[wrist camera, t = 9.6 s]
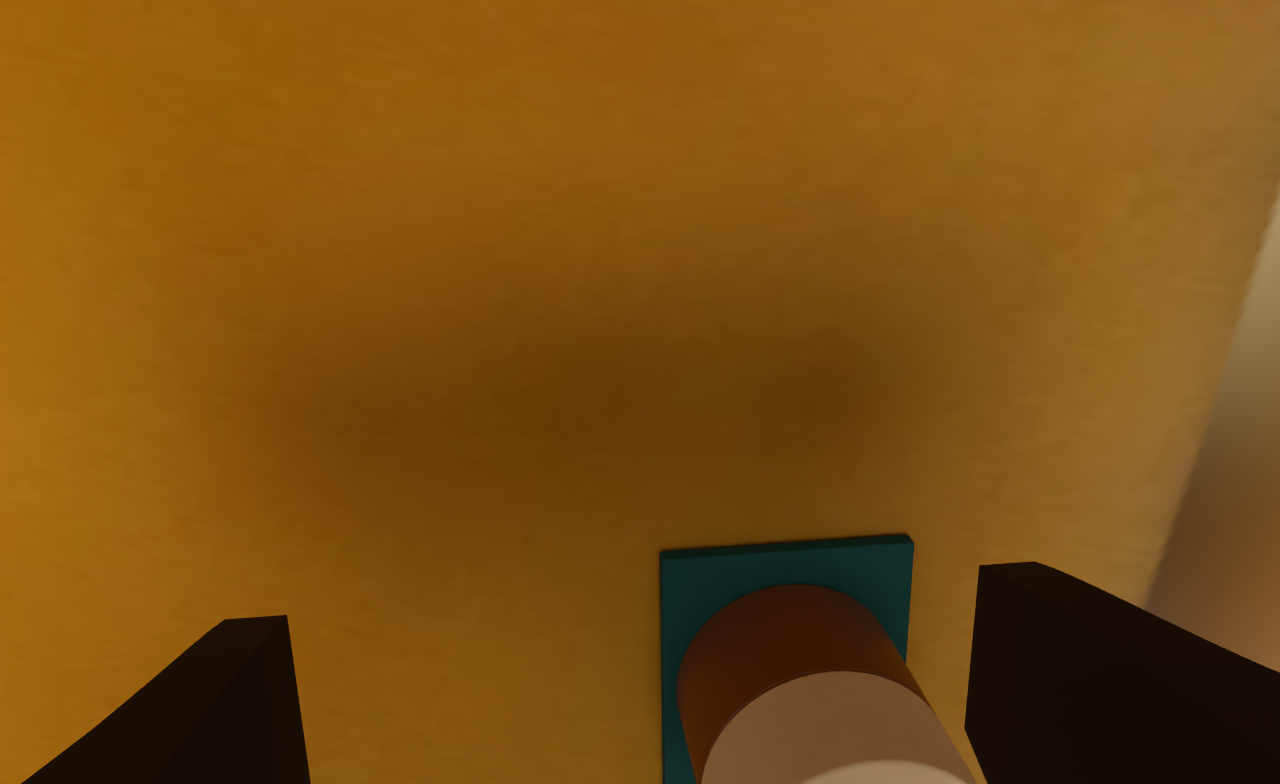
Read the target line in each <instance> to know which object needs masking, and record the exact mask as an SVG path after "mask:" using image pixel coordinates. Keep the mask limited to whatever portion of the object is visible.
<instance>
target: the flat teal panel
mask: <svg viewBox="0 0 1280 784" xmlns="http://www.w3.org/2000/svg"><path fill="white" fill-rule="evenodd" d="M913 553H914V542H913V541H912V540H911V538H910V537H909V536H908V535H895V536H880V537H866V538H851V539H837V540H822V541H807V542H793V543H778V544H763V545H749V546H734V547H720V548H705V549H690V550H676V551H662V552H660V610H661V680H662V751H663V784H696V780H695V776H694V772H693V768H692V764H691V760H690V755H689V751H688V747H687V743H686V739H685V735H684V730H683V726H682V722H681V718H680V714H679V710H678V705H677V695H676V689H677V678H678V673H679V668H680V665H681V662H682V660H683V657H684V654H685V652H686V651H687V649H688V647H689V645H690V643H691V641H692V640H693V638H694V637H695V636H696V634H697V633H698V631H699V630H700V629H701V628H702V627H703V626H704V625H705V624H706V622H707V621H708V620H709V619H710V618H712V617H713V616H714V615H715V614H716V613H717V612H719V611H720V610H721V609H723V608H724V607H726V606H727V605H729V604H730V603H732V602H733V601H735V600H737V599H739V598H741V597H743V596H745V595H747V594H750V593H753V592H755V591H758V590H761V589H765V588H769V587H773V586H780V585H787V584H808V585H817V586H822V587H826V588H830V589H833V590H836V591H838V592H841V593H844V594H846V595H848V596H850V597H851V598H853V599H855V600H857V601H858V602H860V603H861V604H862V605H864V606H865V607H866V608H867V609H868V610H869V611H870V612H871V613H872V614H873V615H874V616H875V617H876V618H877V619H878V621H879V622H880V623H881V625H882V626H883V627H884V629H885V631H886V632H887V634H888V636H889V637H890V639H891V641H892V642H893V644H894V646H895V647H896V649H897V651H898V652H899V654H900V656H901V657H902V659H903V661H904V662H905V664H906V653H907V639H908V624H909V610H910V596H911V582H912V567H913Z"/></svg>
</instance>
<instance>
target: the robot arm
mask: <svg viewBox="0 0 1280 784" xmlns="http://www.w3.org/2000/svg"><path fill="white" fill-rule="evenodd" d="M964 729H965V731H966V733H967V736H968V738H969V741H970V743H971V745H972V748H973V750H974V753H975V755H976V758H977V760H978V762H979V765H980V767H981V770H982V772H983V774H984V777H985V779H986V781H987V783H988V784H1280V673H1279V672H1277V671H1274V670H1272V669H1269V668H1267V667H1265V666H1262V665H1260V664H1258V663H1256V662H1253V661H1251V660H1249V659H1247V658H1245V657H1242V656H1240V655H1238V654H1236V653H1234V652H1231V651H1229V650H1227V649H1225V648H1222V647H1220V646H1218V645H1216V644H1214V643H1212V642H1209V641H1207V640H1205V639H1203V638H1201V637H1199V636H1197V635H1195V634H1193V633H1190V632H1188V631H1186V630H1184V629H1182V628H1180V627H1178V626H1176V625H1174V624H1172V623H1170V622H1168V621H1165V620H1163V619H1161V618H1159V617H1157V616H1155V615H1153V614H1151V613H1149V612H1147V611H1145V610H1143V609H1141V608H1139V607H1137V606H1135V605H1132V604H1130V603H1128V602H1126V601H1124V600H1122V599H1120V598H1118V597H1116V596H1114V595H1112V594H1110V593H1108V592H1106V591H1103V590H1101V589H1099V588H1097V587H1095V586H1093V585H1091V584H1089V583H1086V582H1084V581H1082V580H1080V579H1078V578H1076V577H1073V576H1071V575H1069V574H1066V573H1064V572H1062V571H1059V570H1057V569H1054V568H1052V567H1049V566H1046V565H1043V564H1041V563H1038V562H1020V563H1006V564H992V565H979V575H978V586H977V597H976V608H975V619H974V630H973V640H972V651H971V662H970V673H969V684H968V695H967V705H966V716H965V727H964ZM21 784H311V782H310V775H309V768H308V761H307V754H306V747H305V740H304V733H303V726H302V719H301V711H300V704H299V697H298V690H297V683H296V676H295V669H294V662H293V655H292V648H291V641H290V633H289V626H288V619H287V615H280V616H266V617H253V618H239V619H225V620H223V621H222V622H221V623H219V624H218V625H216V626H215V627H214V628H212V629H211V630H210V631H209V632H207V633H206V634H205V635H204V636H203V637H201V638H200V639H199V640H198V641H196V642H195V643H194V644H193V645H192V646H191V647H189V648H188V649H187V650H186V651H185V652H184V653H182V654H181V655H180V656H179V657H178V658H177V659H175V660H174V661H173V662H172V663H171V664H170V665H168V666H167V667H166V668H165V669H164V670H163V671H161V672H160V673H159V674H158V675H157V676H156V677H154V678H153V679H152V680H151V681H150V682H149V683H147V684H146V685H145V686H144V687H143V688H141V689H140V690H139V691H138V692H137V693H135V694H134V695H133V696H132V697H131V698H129V699H128V700H127V701H126V702H125V703H123V704H122V705H121V706H120V707H119V708H117V709H116V710H115V711H114V712H113V713H111V714H110V715H109V716H108V717H107V718H105V719H104V720H103V721H102V722H101V723H100V724H98V725H97V726H96V727H95V728H93V729H92V730H91V731H90V732H88V733H87V734H86V735H84V736H83V737H82V738H80V739H79V740H78V741H76V742H75V743H74V744H73V745H71V746H70V747H69V748H67V749H66V750H65V751H63V752H62V753H61V754H59V755H58V756H57V757H55V758H54V759H53V760H52V761H50V762H49V763H48V764H46V765H45V766H44V767H42V768H41V769H40V770H38V771H37V772H36V773H35V774H33V775H32V776H31V777H29V778H28V779H27V780H25V781H24V782H23V783H21Z"/></svg>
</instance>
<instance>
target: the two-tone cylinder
mask: <svg viewBox="0 0 1280 784" xmlns="http://www.w3.org/2000/svg"><path fill="white" fill-rule="evenodd" d="M676 695H677V705H678V710H679V714H680V718H681V722H682V726H683V730H684V735H685V739H686V743H687V747H688V751H689V755H690V760H691V764H692V768H693V772H694V776H695V780H696V784H977V782H976V780H975V779H974V777H973V775H972V774H971V772H970V770H969V769H968V767H967V765H966V764H965V762H964V760H963V759H962V757H961V755H960V754H959V752H958V750H957V749H956V747H955V745H954V744H953V742H952V740H951V739H950V737H949V735H948V734H947V732H946V731H945V729H944V727H943V726H942V724H941V722H940V721H939V719H938V718H937V716H936V714H935V712H934V711H933V709H932V707H931V706H930V704H929V702H928V701H927V699H926V697H925V696H924V694H923V692H922V691H921V689H920V687H919V686H918V684H917V682H916V681H915V679H914V677H913V676H912V674H911V672H910V671H909V669H908V667H907V666H906V664H905V662H904V661H903V659H902V657H901V656H900V654H899V652H898V651H897V649H896V647H895V646H894V644H893V642H892V641H891V639H890V637H889V636H888V634H887V632H886V631H885V629H884V627H883V626H882V625H881V623H880V622H879V621H878V619H877V618H876V617H875V616H874V615H873V614H872V613H871V612H870V611H869V610H868V609H867V608H866V607H865V606H864V605H862V604H861V603H860V602H858V601H857V600H855V599H853V598H851V597H850V596H848V595H846V594H844V593H841V592H838V591H836V590H833V589H830V588H826V587H822V586H817V585H808V584H787V585H780V586H773V587H769V588H765V589H761V590H758V591H755V592H753V593H750V594H747V595H745V596H743V597H741V598H739V599H737V600H735V601H733V602H732V603H730V604H729V605H727V606H726V607H724V608H723V609H721V610H720V611H719V612H717V613H716V614H715V615H714V616H713V617H712V618H710V619H709V620H708V621H707V622H706V624H705V625H704V626H703V627H702V628H701V629H700V630H699V631H698V633H697V634H696V636H695V637H694V638H693V640H692V641H691V643H690V645H689V647H688V649H687V651H686V652H685V654H684V657H683V660H682V662H681V665H680V668H679V673H678V678H677V689H676Z"/></svg>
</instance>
